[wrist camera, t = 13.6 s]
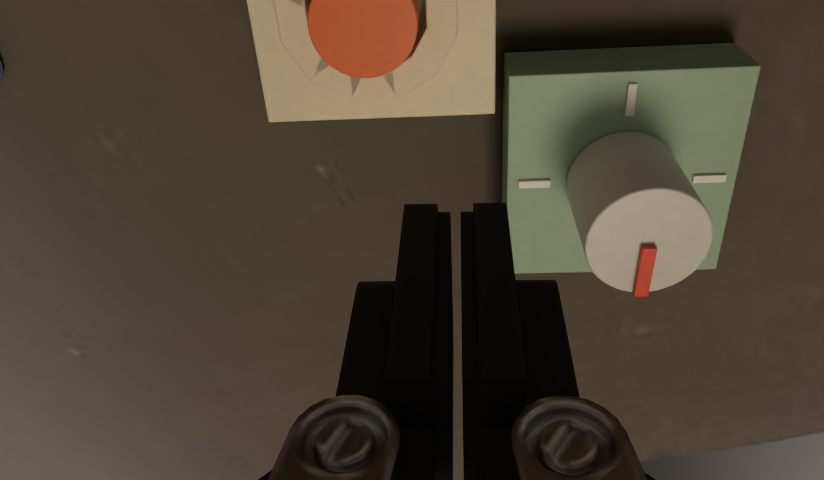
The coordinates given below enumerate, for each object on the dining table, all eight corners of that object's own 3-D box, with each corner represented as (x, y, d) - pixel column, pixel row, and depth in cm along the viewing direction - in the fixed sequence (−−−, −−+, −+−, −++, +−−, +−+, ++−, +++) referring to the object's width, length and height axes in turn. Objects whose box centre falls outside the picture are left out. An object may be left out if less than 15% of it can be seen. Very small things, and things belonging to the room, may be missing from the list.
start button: (416, -47, 25) (414, -36, 24) (421, 61, 28) (420, 76, 26) (307, -41, 26) (299, -30, 24) (321, 65, 28) (314, 80, 26)
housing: (493, -154, 27) (500, -144, 23) (492, 95, 32) (497, 131, 29) (236, -138, 27) (207, -126, 24) (278, 104, 33) (259, 140, 29)
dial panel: (735, 42, 30) (763, 66, 28) (697, 235, 36) (717, 271, 33) (503, 52, 31) (509, 77, 28) (501, 240, 36) (505, 276, 34)
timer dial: (571, 131, 30) (593, 192, 25) (686, 130, 29) (729, 191, 25) (561, 227, 32) (579, 297, 28) (666, 226, 32) (702, 297, 28)
